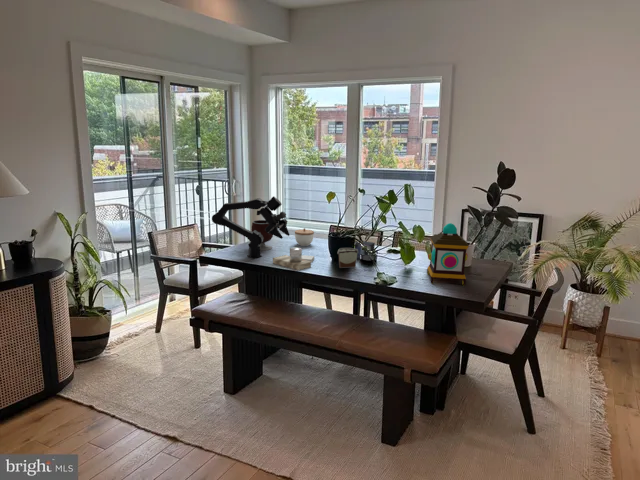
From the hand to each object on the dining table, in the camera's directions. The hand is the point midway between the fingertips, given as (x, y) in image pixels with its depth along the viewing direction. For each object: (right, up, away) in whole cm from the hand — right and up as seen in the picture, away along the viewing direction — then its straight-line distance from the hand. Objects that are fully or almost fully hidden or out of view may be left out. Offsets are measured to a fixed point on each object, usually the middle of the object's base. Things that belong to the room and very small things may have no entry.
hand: (285, 236), depth 276 cm
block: (+12, -14, +2) cm, 18 cm away
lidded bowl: (+9, -5, +42) cm, 44 cm away
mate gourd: (-16, -7, +29) cm, 34 cm away
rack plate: (+4, -16, -8) cm, 18 cm away
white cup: (+6, -16, -11) cm, 20 cm away
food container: (+34, -17, -7) cm, 39 cm away
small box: (+46, -14, +9) cm, 49 cm away
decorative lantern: (+85, -23, -27) cm, 92 cm away
